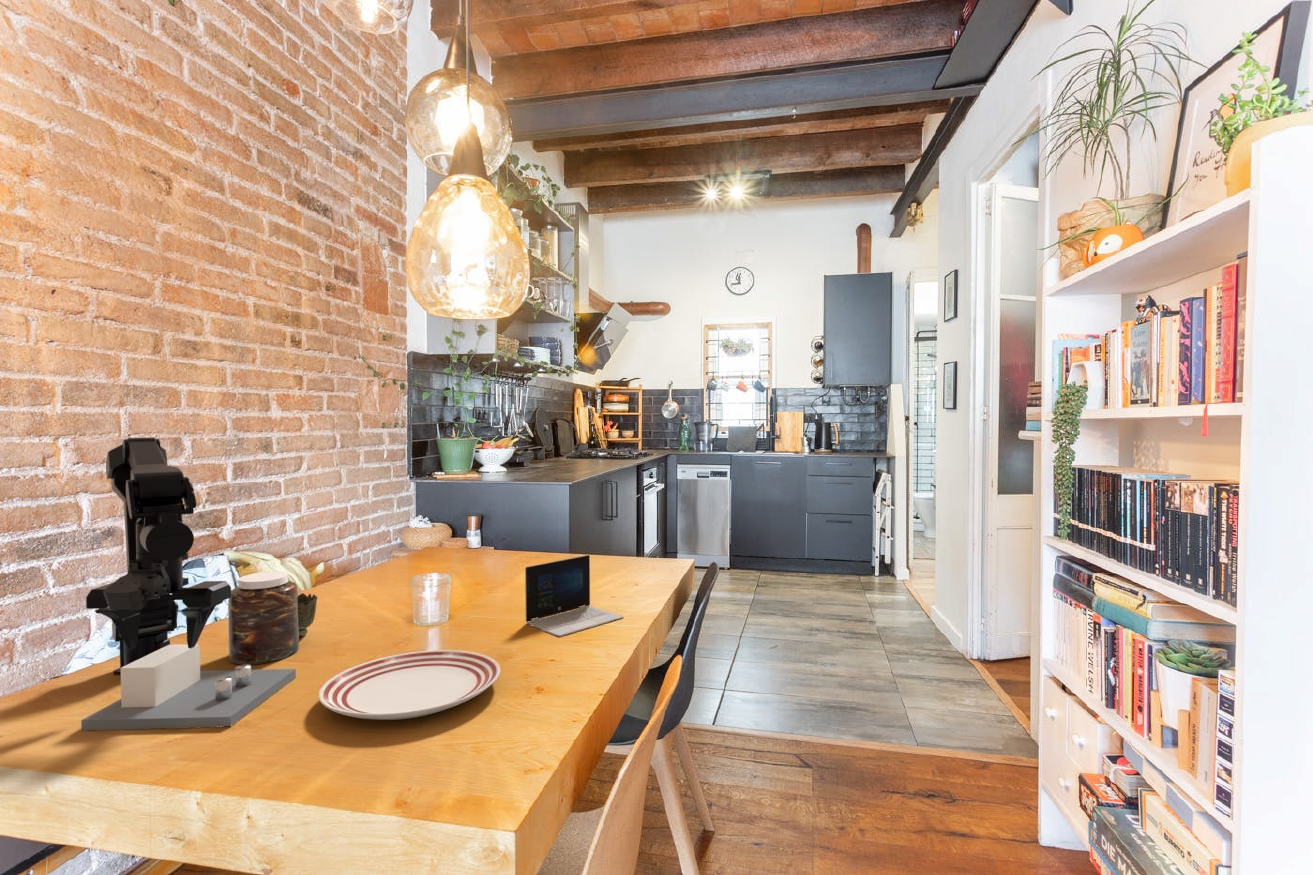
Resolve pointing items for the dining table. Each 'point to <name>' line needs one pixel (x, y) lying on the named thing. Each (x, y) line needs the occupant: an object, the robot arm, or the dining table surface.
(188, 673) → the housing
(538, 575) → the laptop
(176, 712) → the board
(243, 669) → the stubs
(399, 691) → the dinner plate
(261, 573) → the jar
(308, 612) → the cup
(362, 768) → the dining table surface
